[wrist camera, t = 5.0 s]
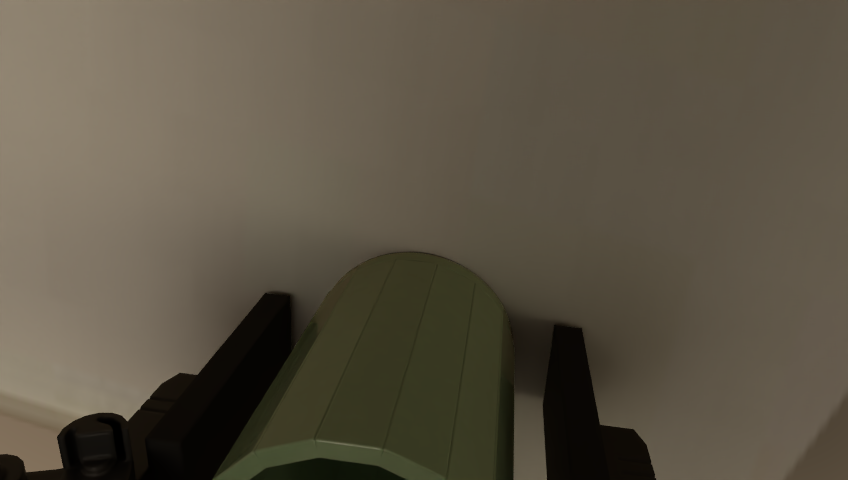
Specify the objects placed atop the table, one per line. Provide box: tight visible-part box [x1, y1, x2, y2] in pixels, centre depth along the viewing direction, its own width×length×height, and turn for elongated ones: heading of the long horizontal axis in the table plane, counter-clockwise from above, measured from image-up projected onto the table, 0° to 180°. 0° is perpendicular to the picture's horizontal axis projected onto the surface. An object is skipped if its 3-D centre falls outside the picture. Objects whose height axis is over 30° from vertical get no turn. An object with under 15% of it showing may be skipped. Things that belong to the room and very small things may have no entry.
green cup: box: [212, 252, 515, 480], centre depth 15 cm, size 6×6×8 cm
